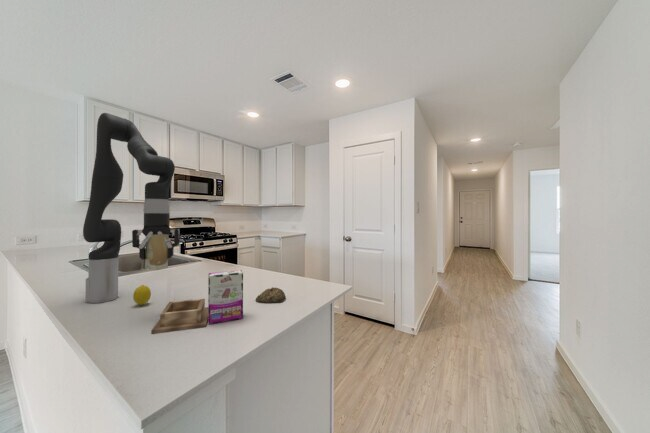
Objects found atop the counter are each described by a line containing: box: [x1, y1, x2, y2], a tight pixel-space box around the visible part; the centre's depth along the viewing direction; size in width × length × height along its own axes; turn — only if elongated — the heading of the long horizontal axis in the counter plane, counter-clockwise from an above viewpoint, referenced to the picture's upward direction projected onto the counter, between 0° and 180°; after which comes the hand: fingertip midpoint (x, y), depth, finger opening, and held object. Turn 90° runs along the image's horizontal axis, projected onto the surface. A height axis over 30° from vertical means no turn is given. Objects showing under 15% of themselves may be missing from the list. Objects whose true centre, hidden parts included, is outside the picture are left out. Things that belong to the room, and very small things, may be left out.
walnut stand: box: [150, 298, 208, 335], centre depth 83 cm, size 15×15×5 cm
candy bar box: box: [207, 269, 244, 325], centre depth 85 cm, size 11×5×16 cm, turn 117°
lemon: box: [132, 284, 152, 306], centre depth 96 cm, size 6×6×8 cm
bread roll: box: [255, 287, 286, 304], centre depth 107 cm, size 13×12×5 cm
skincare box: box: [144, 234, 170, 271], centre depth 86 cm, size 6×4×12 cm
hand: (156, 258), depth 86 cm, fingers closed on skincare box, 7 cm apart
